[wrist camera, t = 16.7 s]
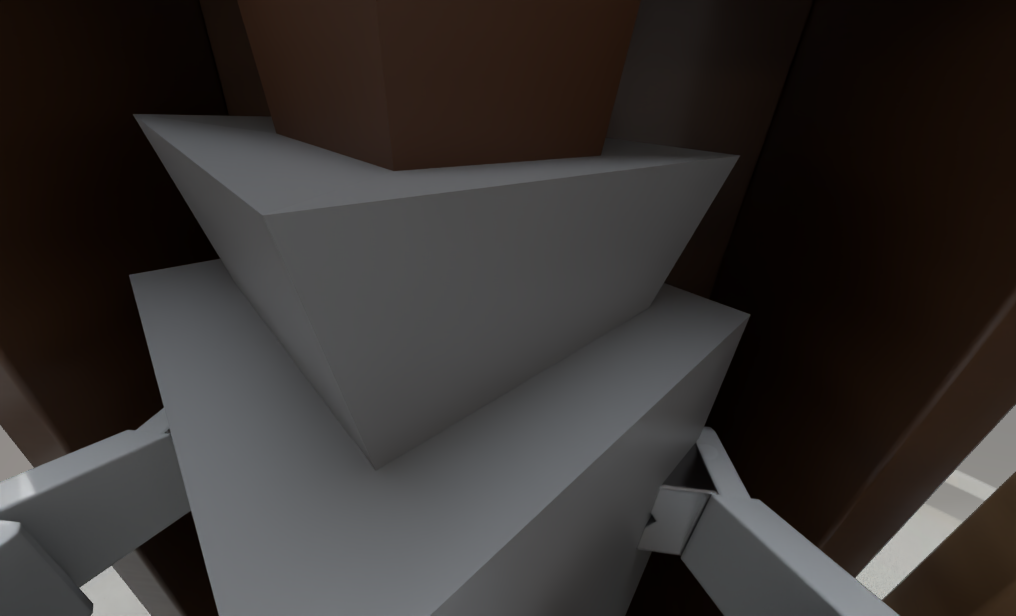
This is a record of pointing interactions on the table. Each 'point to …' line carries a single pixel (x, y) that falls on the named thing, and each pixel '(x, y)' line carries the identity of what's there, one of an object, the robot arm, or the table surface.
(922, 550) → the table surface
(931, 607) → the cupboard door
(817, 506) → the cupboard
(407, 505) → the perfume bottle
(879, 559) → the table surface
